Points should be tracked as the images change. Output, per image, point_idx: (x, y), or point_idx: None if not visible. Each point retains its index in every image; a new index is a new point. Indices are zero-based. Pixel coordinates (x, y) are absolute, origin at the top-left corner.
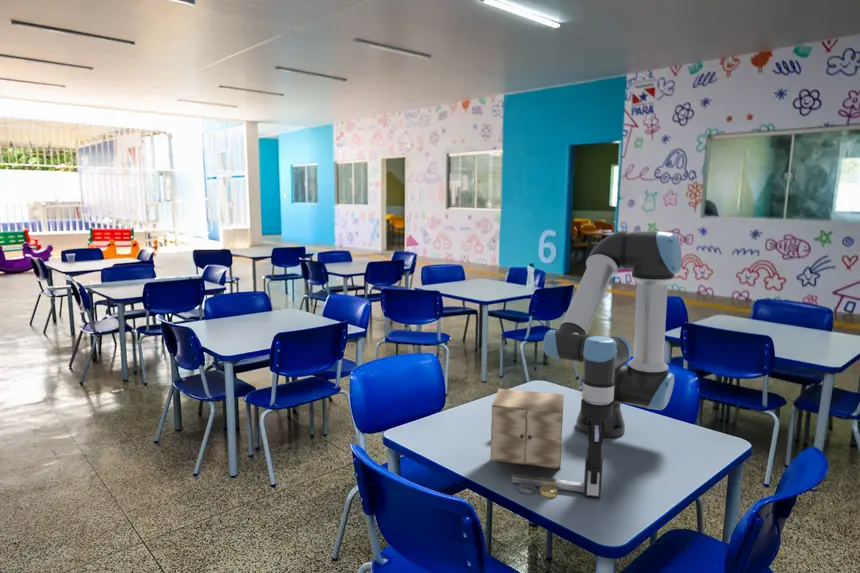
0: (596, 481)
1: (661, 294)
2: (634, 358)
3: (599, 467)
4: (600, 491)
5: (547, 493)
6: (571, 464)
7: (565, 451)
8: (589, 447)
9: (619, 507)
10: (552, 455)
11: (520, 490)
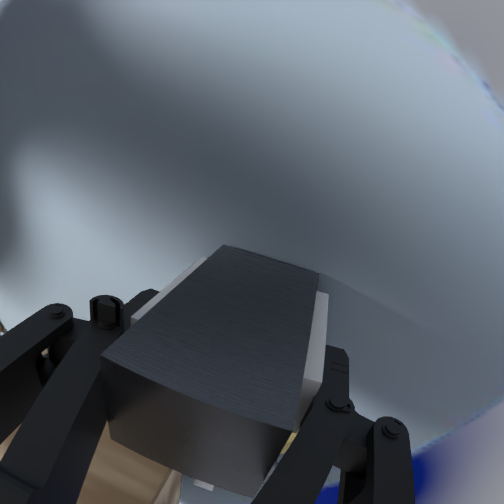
0: (348, 366)
1: None
2: None
3: (408, 460)
4: (316, 289)
5: (289, 444)
6: (56, 281)
7: (4, 268)
8: (100, 435)
9: (394, 205)
10: (166, 494)
11: (264, 481)
